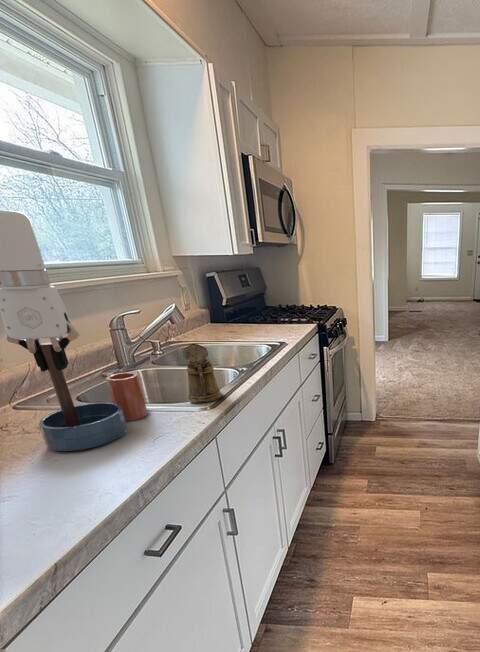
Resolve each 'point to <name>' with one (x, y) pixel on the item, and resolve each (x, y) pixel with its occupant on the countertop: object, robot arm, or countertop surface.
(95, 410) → the bowl
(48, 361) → the stick
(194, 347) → the wooden mug
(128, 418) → the holder
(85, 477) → the countertop surface
